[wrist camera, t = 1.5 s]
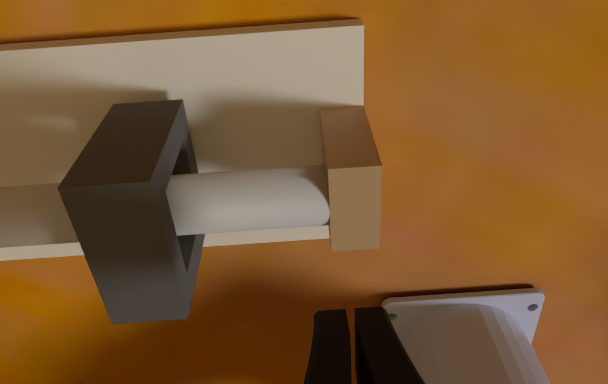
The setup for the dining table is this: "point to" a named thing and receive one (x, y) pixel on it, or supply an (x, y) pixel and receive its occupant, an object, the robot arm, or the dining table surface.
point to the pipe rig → (201, 132)
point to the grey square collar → (135, 211)
